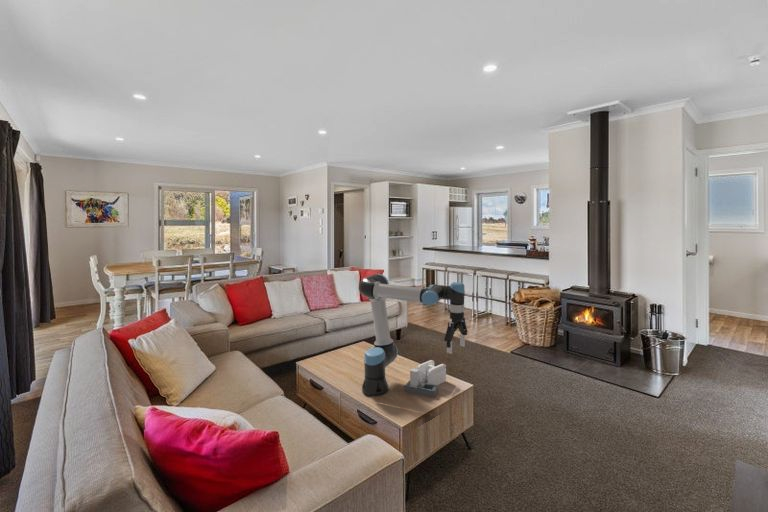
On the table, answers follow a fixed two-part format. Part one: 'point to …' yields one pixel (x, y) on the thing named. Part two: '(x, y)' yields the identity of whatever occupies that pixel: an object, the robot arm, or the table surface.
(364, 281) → the robot arm
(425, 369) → the cable organizer
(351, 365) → the table surface
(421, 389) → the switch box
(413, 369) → the plug
